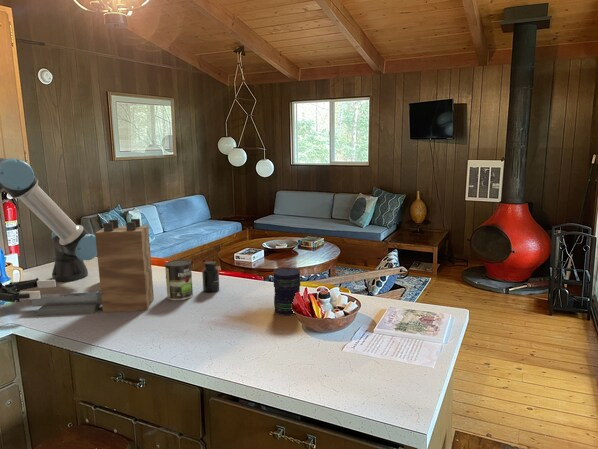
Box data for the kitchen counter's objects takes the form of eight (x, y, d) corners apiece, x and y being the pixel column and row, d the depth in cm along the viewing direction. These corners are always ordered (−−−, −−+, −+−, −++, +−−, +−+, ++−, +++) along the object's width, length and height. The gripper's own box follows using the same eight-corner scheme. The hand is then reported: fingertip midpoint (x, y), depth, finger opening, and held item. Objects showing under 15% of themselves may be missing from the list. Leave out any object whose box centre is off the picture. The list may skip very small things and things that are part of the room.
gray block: (51, 304, 180) (51, 299, 180) (104, 301, 182) (104, 296, 181) (37, 315, 168) (37, 310, 168) (94, 312, 170) (93, 307, 170)
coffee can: (198, 295, 188) (196, 261, 185) (178, 302, 179) (175, 267, 177) (182, 290, 194) (180, 258, 191) (161, 297, 186) (159, 263, 183)
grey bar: (37, 302, 176) (36, 291, 175) (107, 300, 178) (106, 288, 177) (31, 307, 171) (29, 295, 170) (103, 304, 173) (101, 293, 172)
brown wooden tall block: (112, 301, 182) (104, 219, 176) (153, 299, 184) (147, 217, 178) (102, 312, 170) (94, 224, 164) (147, 309, 172) (140, 223, 166)
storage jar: (297, 316, 163) (297, 275, 161) (271, 314, 165) (270, 274, 163) (303, 306, 173) (302, 268, 170) (277, 305, 175) (276, 267, 172)
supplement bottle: (217, 292, 190) (216, 264, 188) (201, 293, 190) (199, 264, 188) (221, 287, 197) (219, 260, 195) (205, 287, 197) (203, 260, 195)
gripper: (6, 290, 183) (62, 288, 186) (-31, 313, 159) (34, 310, 161) (3, 272, 182) (59, 270, 184) (-34, 292, 158) (31, 289, 160)
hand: (48, 288), depth 173 cm, fingers open, 13 cm apart
